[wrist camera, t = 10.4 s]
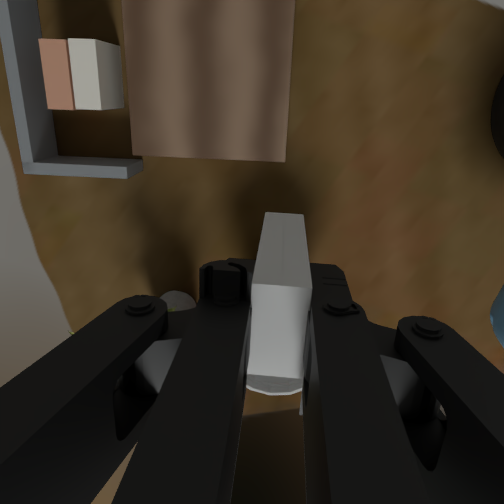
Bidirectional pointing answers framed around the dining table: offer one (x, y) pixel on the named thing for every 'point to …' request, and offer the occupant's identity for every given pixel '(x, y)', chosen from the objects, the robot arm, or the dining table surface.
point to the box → (42, 102)
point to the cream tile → (96, 74)
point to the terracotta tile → (57, 74)
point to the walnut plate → (209, 77)
